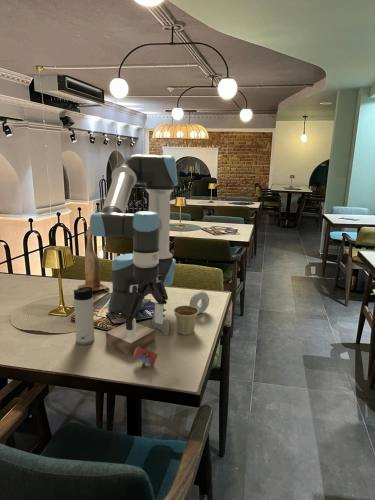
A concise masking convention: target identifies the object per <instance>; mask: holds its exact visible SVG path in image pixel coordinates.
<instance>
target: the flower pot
mask: <svg viewBox="0 0 375 500" xmlns="http://www.w3.org/2000/svg"><path fill="white" fill-rule="evenodd" d="M173 313H174V315H175V318H176V327H177V332H178V333H179V334H182V335H184V336H185V335H186V336H187V335H191V334H193V333H194V332H195V326H196V321H197V317H198V315H199V314H198V313H199V310H198V309H197V308H196V307H194V306H190V305H179V306H176V307H174V309H173Z"/></svg>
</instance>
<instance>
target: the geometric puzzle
mask: <svg viewBox="0 0 375 500" xmlns="http://www.w3.org/2000/svg"><path fill="white" fill-rule="evenodd" d="M144 346H145V345H144ZM145 347H146V346H145ZM143 348H144V347H143ZM143 348H140V347H139V346H138V347H137V348H136V349H135V351H134V354H133V359H134V360H138V361H141V362H142V363H141V365H140V368H148V367H150V366H151V367H152V366H153V367H154V364H155V363H156V360H157V358H158V356H159V354H158V353H155V352H154V351H152V350H150V349H153V347H152V344H150V345H149V347H148V348H147V347H146V348H147V349H145V348H144V349H143ZM144 363H146V364H148V365H145V366H144V367H143V365H144Z"/></svg>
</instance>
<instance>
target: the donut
mask: <svg viewBox="0 0 375 500" xmlns="http://www.w3.org/2000/svg"><path fill="white" fill-rule="evenodd" d="M200 300H201V302H200V304H199V305H198V303H199V301H200ZM209 304H210V297H209V295H208V294H207V293H206V291H203V290H200V291H199V290H198V291H196V292H195V293H194V294H193V295H192V296H191V297H190V300H189V305H188V306H194V307H196V308H197V309H198V310H199V313H198V314H197V315H200V314H202V313H203V314H204V312H205V311H206V310H207V309H208V306H209Z"/></svg>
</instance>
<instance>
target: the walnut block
mask: <svg viewBox="0 0 375 500" xmlns="http://www.w3.org/2000/svg"><path fill="white" fill-rule="evenodd" d="M155 333H156V329H153V328H150V327H148V326H145V325H142V324H140V323H138V322H136V340H131V339H128V338H127V329H126V322H125V323H122V324H121V325H118V326H117V327H114V328H113V329H110V330H108V331H106V332H105V344H106V346H109V347H110V348H113V349H115V350H117V351H119V352H121V353H124V354H126V355H128V356H130V357H131V356H134V351H135V349H136V348H137V347H138V346H139V347H140V348H143V347H144V348H143V349H145V348H147V347H148V346H151V345H152V344H155V341H156V334H155ZM150 344H151V345H150ZM144 345H145V346H146V347H145V346H144Z"/></svg>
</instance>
